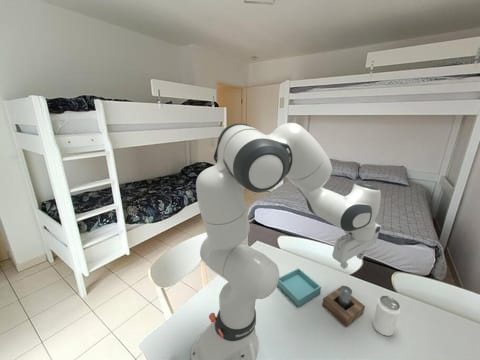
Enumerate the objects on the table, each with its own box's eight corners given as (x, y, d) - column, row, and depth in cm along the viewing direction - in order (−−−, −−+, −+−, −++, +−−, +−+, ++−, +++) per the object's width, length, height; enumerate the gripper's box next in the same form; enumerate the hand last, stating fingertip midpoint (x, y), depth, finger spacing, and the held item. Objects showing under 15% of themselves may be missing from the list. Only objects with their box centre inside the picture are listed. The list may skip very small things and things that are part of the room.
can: (388, 340, 73) (396, 314, 69) (368, 325, 78) (375, 300, 74) (396, 329, 77) (404, 304, 73) (376, 316, 82) (383, 291, 78)
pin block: (346, 327, 77) (347, 319, 76) (322, 305, 86) (323, 297, 85) (363, 313, 83) (365, 306, 81) (338, 294, 91) (340, 287, 90)
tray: (297, 307, 85) (298, 300, 84) (276, 285, 96) (277, 278, 94) (320, 294, 91) (321, 286, 90) (297, 274, 102) (298, 267, 101)
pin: (343, 316, 82) (347, 295, 79) (334, 308, 85) (338, 288, 82) (349, 311, 84) (354, 291, 80) (340, 303, 87) (344, 284, 84)
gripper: (348, 243, 65) (341, 279, 69) (384, 225, 75) (376, 257, 79) (330, 233, 70) (325, 267, 75) (366, 217, 80) (359, 248, 84)
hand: (351, 262), depth 77 cm, fingers open, 8 cm apart
